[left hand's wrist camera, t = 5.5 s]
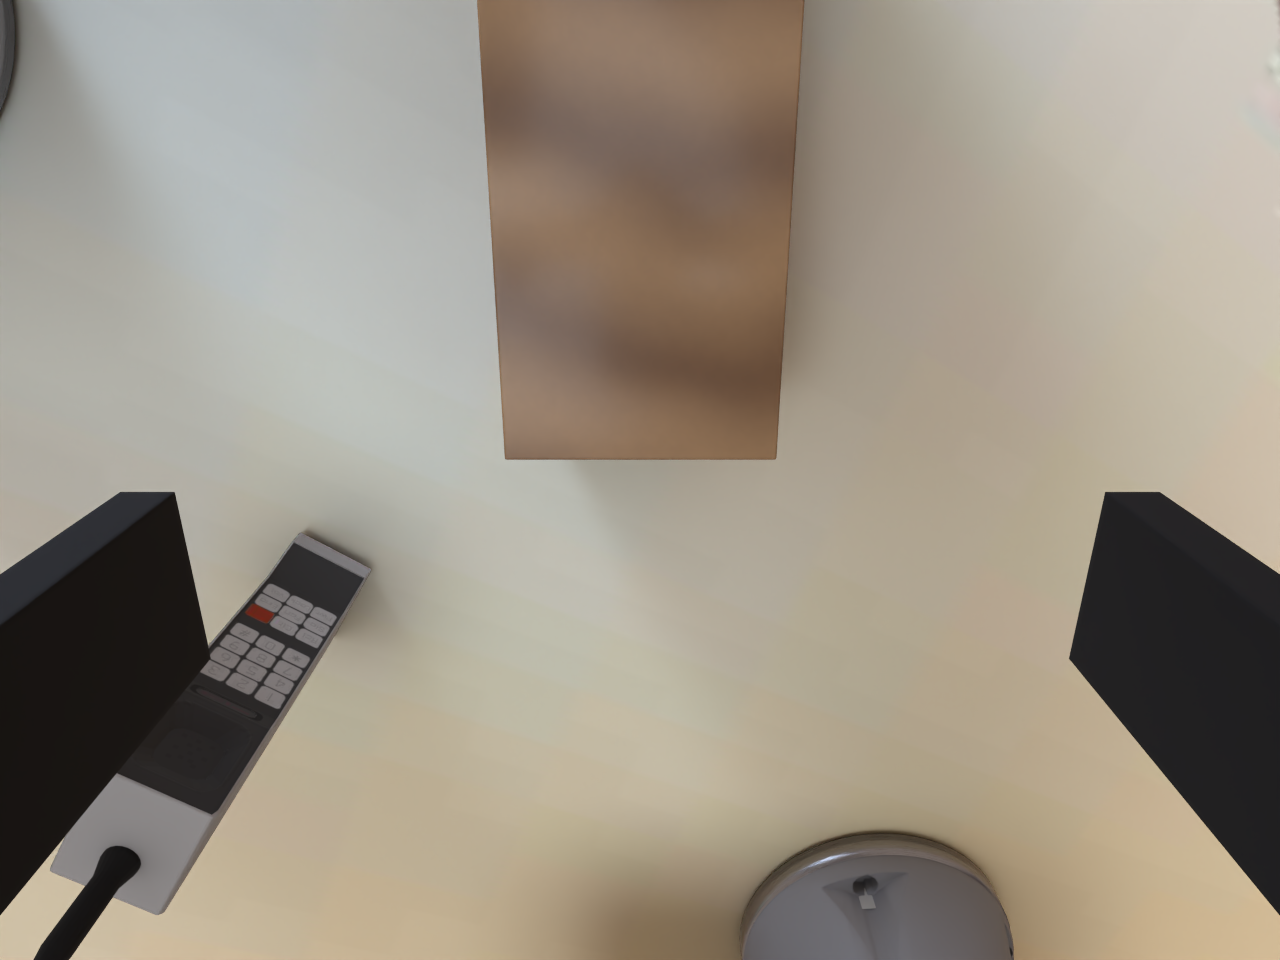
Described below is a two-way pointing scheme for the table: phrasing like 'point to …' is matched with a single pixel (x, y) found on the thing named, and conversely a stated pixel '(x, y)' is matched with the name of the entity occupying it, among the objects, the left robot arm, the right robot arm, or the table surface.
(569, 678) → the table surface
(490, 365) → the table surface
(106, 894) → the vintage mobile phone
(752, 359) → the wooden rectangular block
